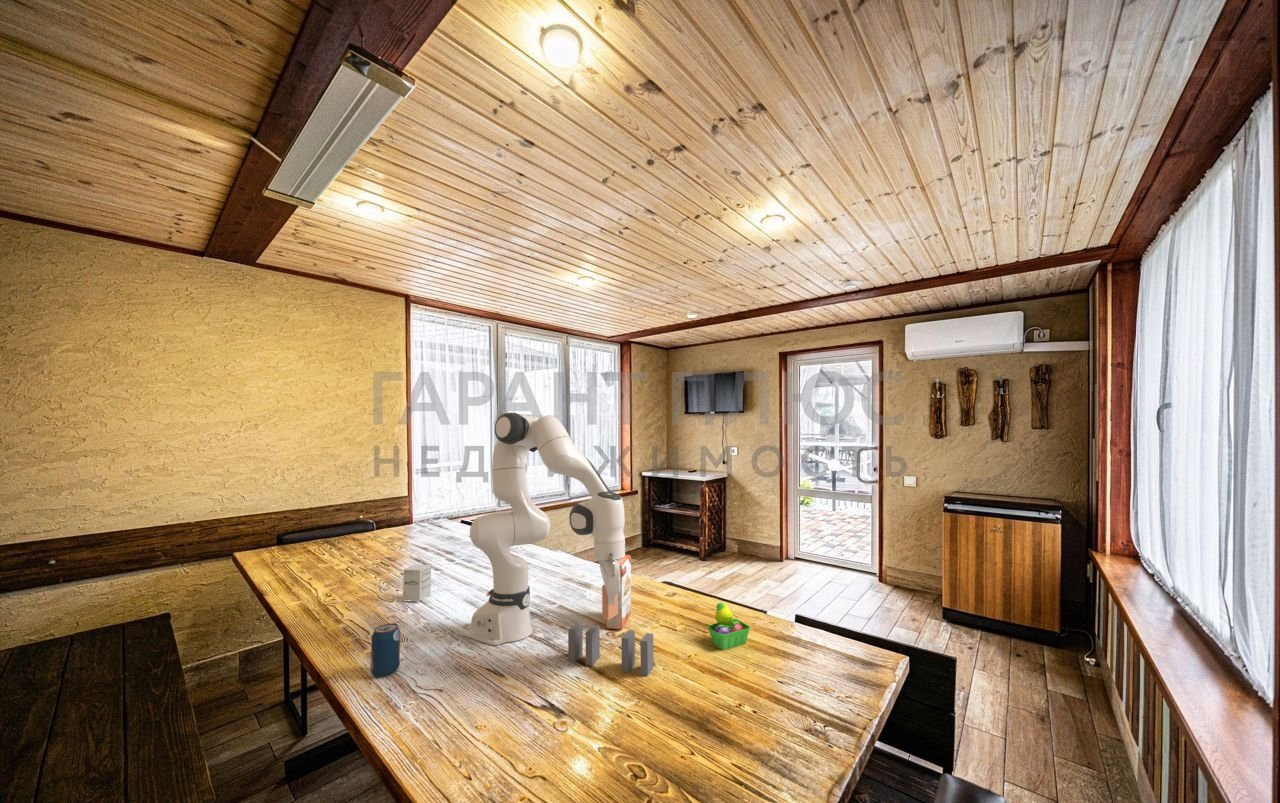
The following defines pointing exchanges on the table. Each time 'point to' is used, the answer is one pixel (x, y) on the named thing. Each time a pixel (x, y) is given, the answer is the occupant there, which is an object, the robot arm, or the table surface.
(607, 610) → the domino
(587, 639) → the domino
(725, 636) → the fruit basket
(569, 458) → the robot arm
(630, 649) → the domino
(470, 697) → the table surface
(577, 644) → the domino
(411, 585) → the supplement box
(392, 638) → the soda can
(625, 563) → the cracker box
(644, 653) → the domino end
